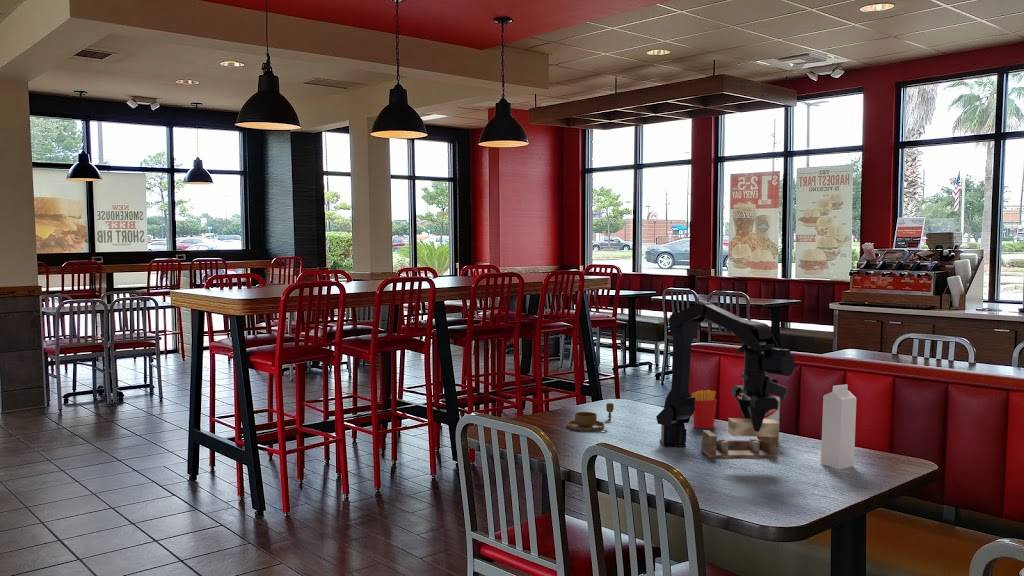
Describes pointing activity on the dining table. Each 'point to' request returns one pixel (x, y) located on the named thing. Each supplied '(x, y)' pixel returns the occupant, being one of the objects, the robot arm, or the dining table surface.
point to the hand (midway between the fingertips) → (753, 428)
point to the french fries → (704, 409)
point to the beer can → (773, 414)
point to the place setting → (589, 420)
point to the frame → (738, 447)
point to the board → (746, 427)
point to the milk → (838, 428)
